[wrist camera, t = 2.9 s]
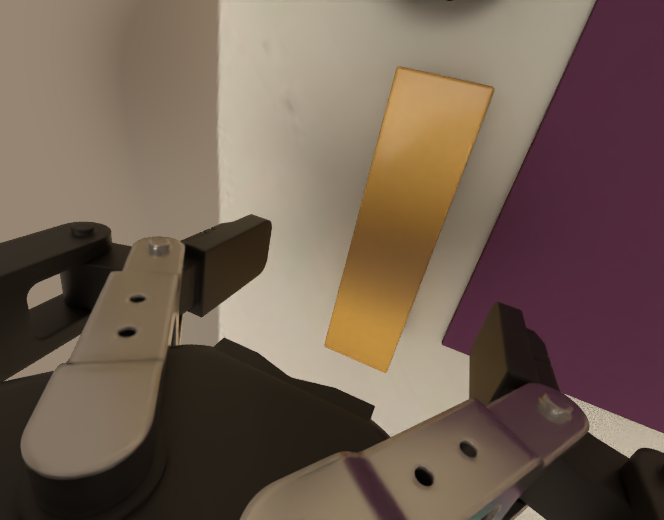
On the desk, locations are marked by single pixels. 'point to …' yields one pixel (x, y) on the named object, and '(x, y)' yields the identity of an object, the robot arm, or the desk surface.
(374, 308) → the golden wooden block
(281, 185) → the desk surface
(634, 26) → the cloth
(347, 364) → the desk surface
